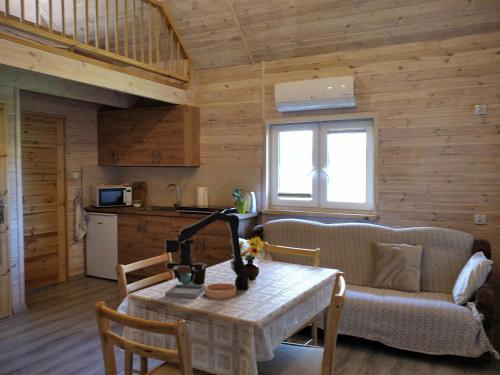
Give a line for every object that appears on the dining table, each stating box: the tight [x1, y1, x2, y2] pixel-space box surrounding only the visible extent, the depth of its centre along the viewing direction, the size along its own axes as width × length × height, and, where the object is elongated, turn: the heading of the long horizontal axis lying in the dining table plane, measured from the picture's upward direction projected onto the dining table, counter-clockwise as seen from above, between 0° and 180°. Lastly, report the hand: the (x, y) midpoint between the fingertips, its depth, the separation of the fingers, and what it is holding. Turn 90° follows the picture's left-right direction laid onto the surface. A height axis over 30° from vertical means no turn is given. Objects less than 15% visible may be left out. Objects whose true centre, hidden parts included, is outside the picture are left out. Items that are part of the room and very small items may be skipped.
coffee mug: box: [190, 263, 207, 285], centre depth 240 cm, size 12×9×10 cm
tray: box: [164, 283, 206, 299], centre depth 219 cm, size 16×16×2 cm
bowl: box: [204, 282, 238, 299], centre depth 217 cm, size 16×16×3 cm
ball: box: [179, 272, 192, 285], centre depth 219 cm, size 6×6×6 cm
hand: (185, 282), depth 219 cm, fingers closed on ball, 6 cm apart
